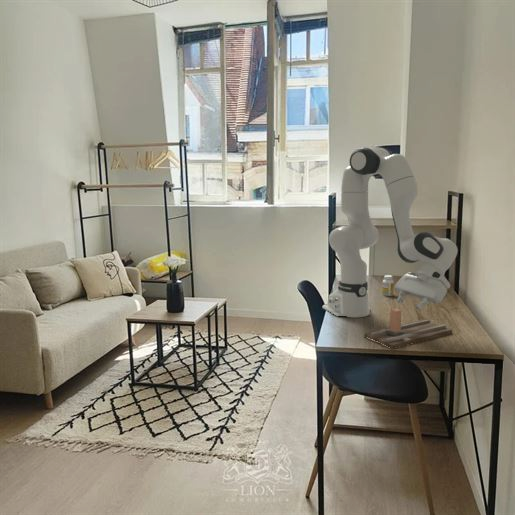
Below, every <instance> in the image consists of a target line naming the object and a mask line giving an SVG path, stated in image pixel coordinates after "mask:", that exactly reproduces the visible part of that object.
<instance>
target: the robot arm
mask: <svg viewBox="0 0 515 515" xmlns="http://www.w3.org/2000/svg"><path fill="white" fill-rule="evenodd" d="M378 176H381V177H382V179H383V182H384V185H385V188H386V192H387V194H388V198H389V203H390V204H389V205H390V210H391V215H392V220H393V224H394V229H395V232H396V238H397V253H398V256H399V258H400V259H401V260H402V261H403V262H405V263H407V264H413V263H417V262H419V261H422V264H420V266H419V267H418V269H417V271H415V273H414V272H407V273H404V275H402V276H401V278H399V280H398V281H397V282H396V284H394V288H395V289H396V291H397V292H398V298H397V299H396V302H397V303H398V304H403V303H404V297H405V296H409V297H413V298H416V299H420V300H422V301H421V302H417V304H416V305H415V308H417V310H423V308H424V307H425V306H426V307H427V305H429V304H430V303H433V304H439V303H441V302H442V301H443V300H444V298H445V297H446V295H447V292H448V290H449V289H450V287H451V284H450V282H449V281H448V279H447V278H446V276H445V273H446V272H447V270H449V269H450V267H451V266H452V264H453V262H454V261H455V259H456V258H457V256H458V246H457V245H456V243H455V242H454V241H452V240H451V239H449V238H447V237H444V238H443V237H442V238H441V237H437V236H435V235H433V234H432V233H430V232H427V231H421V232H418V233H416V234H415V233H414V230H413V226H412V222H411V219H410V211H411V208H412V205H413V203H414V202H415V200H416V199H417V196H418V193H419V190H418V184H417V181H416V178H415V175H414V172H413V169H412V168H411V166H410V164H409V162H408V160H407V158H406V157H405V156H404V155H403V154H400V153H393V152H392V151H391V150H390V149H388V148H385V147H378V146H370V147H366V146H364V147H359V148H357V149H355V150H354V151H353V152H352V153H351V154H350V157H349V165H348V166H347V167H346V168H345V169H344V171H343V174H342V179H341V194H340V197H341V200H340V201H341V202H340V203H341V206H340V207H341V208H340V209H341V212H342V213H343V214H344V215H345V217H346V218H347V220H348V224H347V225H341V226H339V227H337V228H334V229H332V230H331V232H330V233H329V235H328V236H329V237H328V243H329V246H330V247H331V249H332V250H333V251H334V252H335V253H336V254H337V257H338V260H339V264H340V281H339V280H338V282H336V285H338V286H337V289H336V290H334V291H333V292H331V293H330V294H329V295H328V297H327V303H326V304H323V305H322V309H323V310H325V311H327V312H328V311H329V313H330V312H331V313H330V314H331V315H333V314H334V315H333V316H335V315H336V316H335V317H338V316H347V317H346V318H363V317H367V316H369V315H370V314H371V313H370V311H371V307H370V306H369V305H370V304H369V294H368V287H369V286H368V285H369V284H368V283H369V282H368V281H367V278H368V277H367V275H368V272H367V271H368V265H367V263H366V262H365V260H363V258H362V256H361V253H360V252H361V250H364V249H369V248H371V247H372V246H374V245H375V244H377V243H378V241H379V237H380V233H379V231H378V228H377V227H376V226H375V225H374V223H373V221H372V219H371V216H370V212H369V211H370V210H369V180H370V179H371V178H372V177H373V178H375V177H378Z"/></svg>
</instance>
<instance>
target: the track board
mask: <svg viewBox="0 0 515 515" xmlns="http://www.w3.org/2000/svg"><path fill="white" fill-rule="evenodd" d="M388 329H390V327H388V328H383V329H378V330H374V331H369V332H365V333H364V334H363V335H364V336H365V337H368V338H370V339H373V340H375V341H378V342H380V343H382V344H384V345H386V346H388V347H390V348H394V349H396V348H395V347H398V348H400V347H399V346H402V347H404V346H403V345H406V346H408V345H407V344H409V345H412V344H411V343H413V344H416V343H415V342H417V343H420V342H419V341H421V342H424V341H423V340H425V341H427V340H426V339H428V340H432V339H436V338H440V337H443V335H444V336H447V335H446V334H448V335H450V334H453V329H452V328H449V327H447V326H446V324H437V323H434V322H432V321H430V319H421V320H416V321H412V322H408V323H404V324H401V331H403V332H404V334H403V335H399V336H393V335H390V334H387V333H386V330H388ZM364 336H363V337H364ZM439 336H440V337H439ZM365 337H364V338H365ZM435 337H436V338H435ZM431 338H432V339H431ZM386 346H385V347H386ZM388 347H387V348H388ZM390 348H389V349H390Z"/></svg>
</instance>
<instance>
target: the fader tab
mask: <svg viewBox="0 0 515 515" xmlns="http://www.w3.org/2000/svg"><path fill="white" fill-rule="evenodd" d="M389 316H390V317H389V319H390V320H389V328H390V329H388V330H386V333H387V334H390V335H393V336H399V335H403V334H404V332H403V331H401V325H402V310H401V309H398V308H391V309H390V315H389Z"/></svg>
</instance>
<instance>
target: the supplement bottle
mask: <svg viewBox="0 0 515 515" xmlns="http://www.w3.org/2000/svg"><path fill="white" fill-rule="evenodd" d="M381 287H382V288H381V290H382V292H381V294H382V296H384V297H391V296H394V288H395V284H394V279H393V275H389V274H386V275H384V276H383V280H382V286H381Z"/></svg>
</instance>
